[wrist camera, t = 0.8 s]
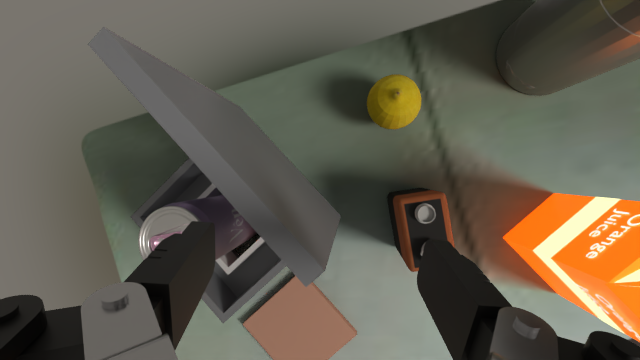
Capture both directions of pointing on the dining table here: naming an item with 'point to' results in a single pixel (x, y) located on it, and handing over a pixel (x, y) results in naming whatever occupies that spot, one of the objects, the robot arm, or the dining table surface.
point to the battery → (418, 222)
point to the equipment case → (228, 176)
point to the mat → (299, 324)
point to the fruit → (394, 101)
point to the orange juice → (587, 254)
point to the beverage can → (180, 214)
